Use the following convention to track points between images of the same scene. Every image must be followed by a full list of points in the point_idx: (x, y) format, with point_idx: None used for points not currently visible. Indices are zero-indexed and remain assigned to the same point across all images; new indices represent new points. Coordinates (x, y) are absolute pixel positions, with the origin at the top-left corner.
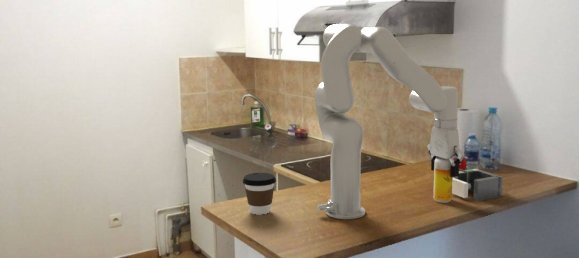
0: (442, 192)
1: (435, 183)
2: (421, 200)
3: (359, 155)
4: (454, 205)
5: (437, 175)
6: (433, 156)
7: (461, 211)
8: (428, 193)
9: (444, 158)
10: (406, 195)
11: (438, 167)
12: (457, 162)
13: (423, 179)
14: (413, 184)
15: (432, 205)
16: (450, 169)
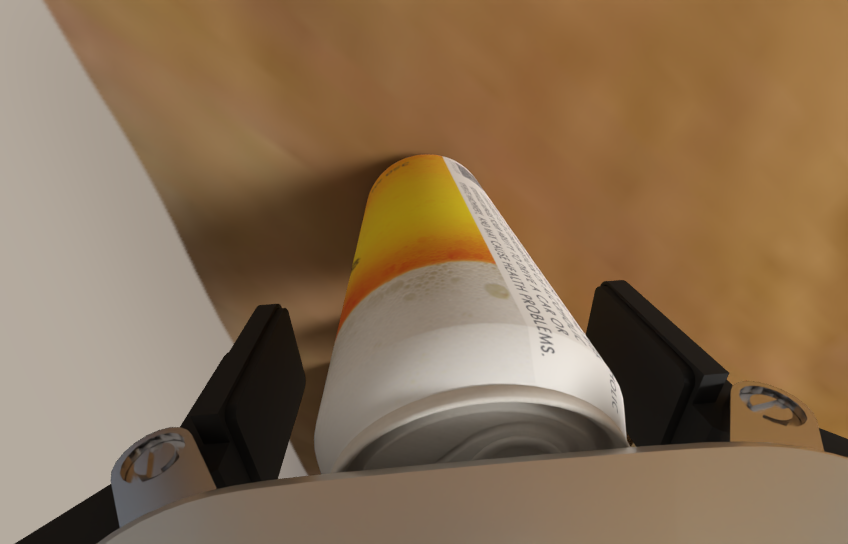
0: (373, 196)
1: (442, 188)
2: (494, 73)
3: None
4: (312, 217)
5: (422, 224)
6: (730, 435)
7: (187, 184)
8: (581, 216)
9: (261, 484)
10: (651, 37)
11: (415, 281)
12: (41, 534)
13: (771, 335)
14: (766, 240)
15: (361, 76)
16: (243, 362)
